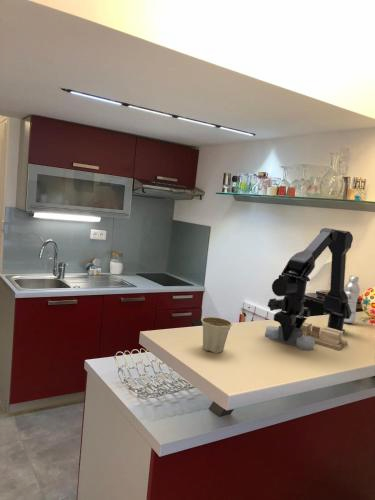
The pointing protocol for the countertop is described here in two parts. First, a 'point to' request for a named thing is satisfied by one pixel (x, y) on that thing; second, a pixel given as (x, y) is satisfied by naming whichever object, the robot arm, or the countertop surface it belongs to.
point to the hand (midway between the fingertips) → (289, 338)
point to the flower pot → (215, 333)
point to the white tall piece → (352, 297)
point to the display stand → (324, 336)
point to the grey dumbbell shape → (291, 337)
